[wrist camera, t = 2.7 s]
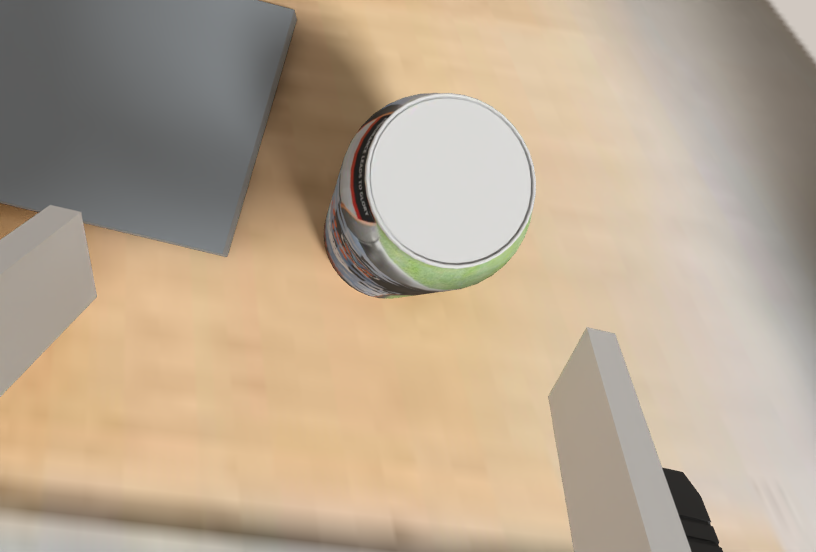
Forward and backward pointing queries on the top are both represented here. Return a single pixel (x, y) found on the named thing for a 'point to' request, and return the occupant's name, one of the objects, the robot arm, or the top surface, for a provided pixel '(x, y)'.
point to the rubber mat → (138, 110)
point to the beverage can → (429, 197)
